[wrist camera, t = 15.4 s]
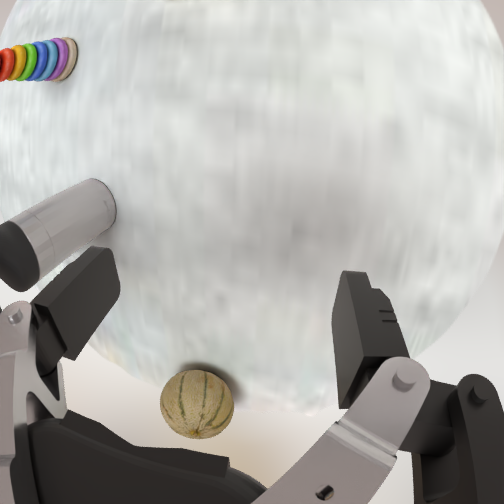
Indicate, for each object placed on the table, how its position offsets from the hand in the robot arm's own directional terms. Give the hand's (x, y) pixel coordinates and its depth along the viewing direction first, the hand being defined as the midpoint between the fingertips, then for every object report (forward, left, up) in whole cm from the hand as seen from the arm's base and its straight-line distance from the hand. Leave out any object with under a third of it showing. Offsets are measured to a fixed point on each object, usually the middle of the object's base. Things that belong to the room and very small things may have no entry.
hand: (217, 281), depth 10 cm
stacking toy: (-38, +15, -27) cm, 50 cm away
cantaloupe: (-11, -47, -27) cm, 55 cm away
